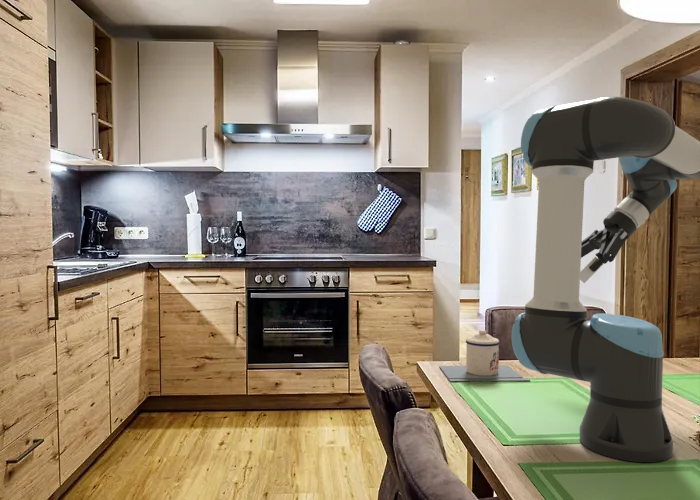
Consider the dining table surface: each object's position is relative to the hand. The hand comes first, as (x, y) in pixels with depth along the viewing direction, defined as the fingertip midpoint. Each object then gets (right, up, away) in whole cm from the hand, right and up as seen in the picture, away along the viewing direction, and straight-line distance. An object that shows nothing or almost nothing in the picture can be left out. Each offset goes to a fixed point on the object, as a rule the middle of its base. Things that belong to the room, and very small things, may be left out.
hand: (567, 277), depth 140 cm
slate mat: (-20, -27, +10) cm, 35 cm away
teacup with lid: (-19, -27, +11) cm, 35 cm away
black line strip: (-20, -27, +2) cm, 34 cm away
